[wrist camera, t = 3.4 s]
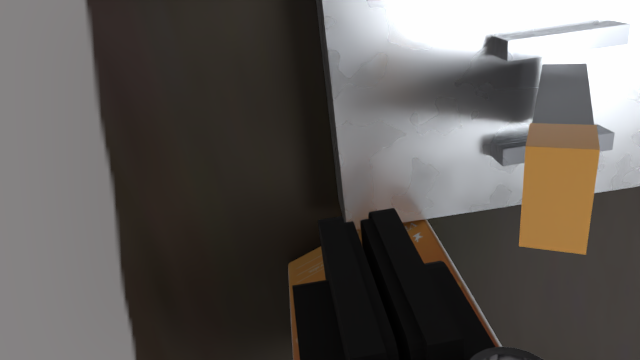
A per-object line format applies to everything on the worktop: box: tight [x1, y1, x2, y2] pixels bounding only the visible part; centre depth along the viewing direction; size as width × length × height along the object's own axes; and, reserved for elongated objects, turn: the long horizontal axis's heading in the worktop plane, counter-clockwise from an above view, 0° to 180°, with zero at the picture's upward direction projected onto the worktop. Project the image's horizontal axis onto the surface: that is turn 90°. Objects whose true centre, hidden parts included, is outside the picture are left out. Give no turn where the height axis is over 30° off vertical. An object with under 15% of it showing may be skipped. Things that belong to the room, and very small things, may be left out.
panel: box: [316, 0, 640, 230], centre depth 21 cm, size 23×16×4 cm
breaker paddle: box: [519, 63, 600, 255], centre depth 17 cm, size 2×3×9 cm, turn 7°
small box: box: [288, 219, 502, 360], centre depth 22 cm, size 8×6×13 cm
